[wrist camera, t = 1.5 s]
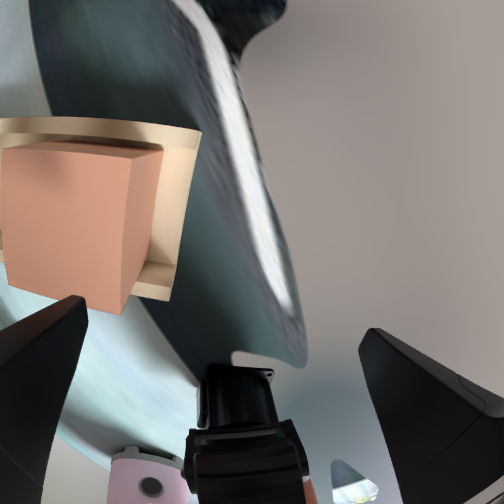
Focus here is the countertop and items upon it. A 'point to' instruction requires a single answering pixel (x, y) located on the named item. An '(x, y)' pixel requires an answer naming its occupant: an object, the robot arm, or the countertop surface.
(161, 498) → the blender
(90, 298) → the block
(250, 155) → the countertop surface
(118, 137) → the chute
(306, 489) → the canned food
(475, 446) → the robot arm
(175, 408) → the countertop surface
